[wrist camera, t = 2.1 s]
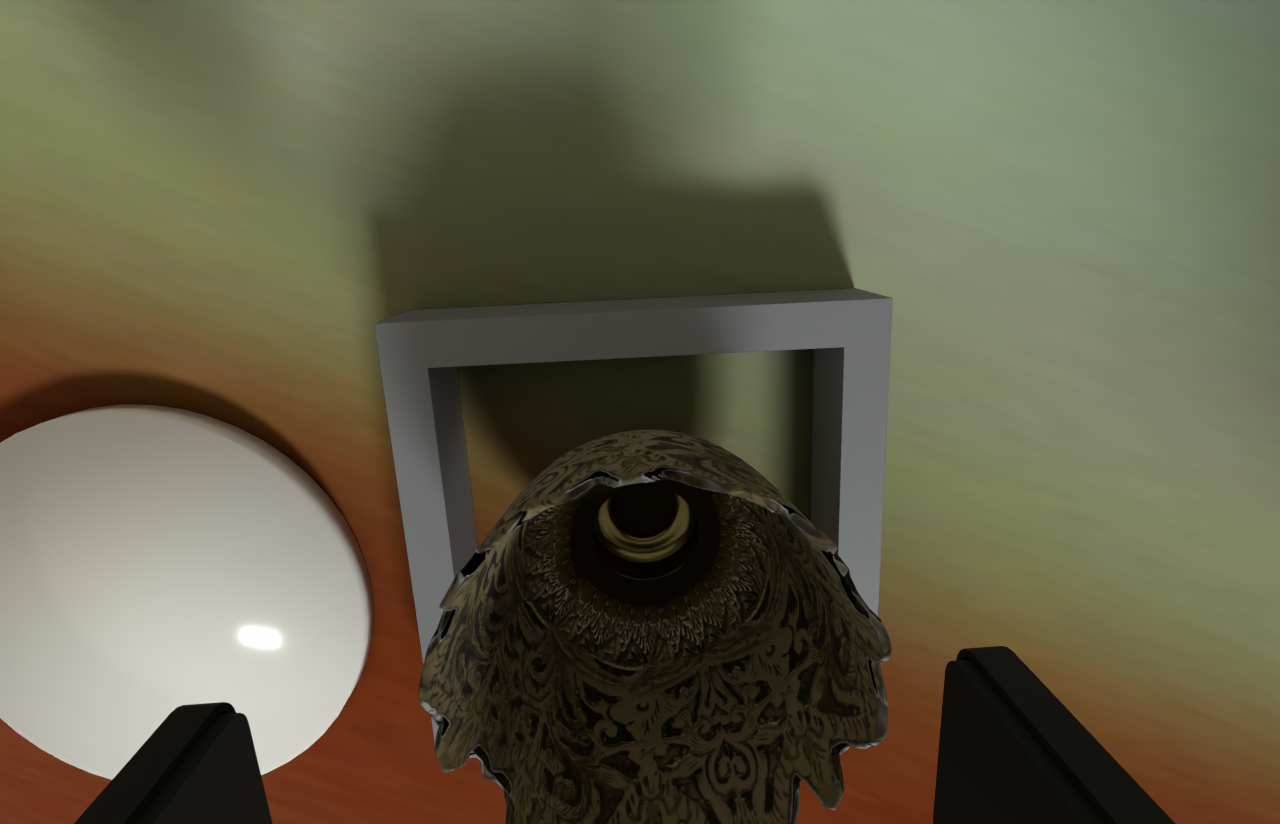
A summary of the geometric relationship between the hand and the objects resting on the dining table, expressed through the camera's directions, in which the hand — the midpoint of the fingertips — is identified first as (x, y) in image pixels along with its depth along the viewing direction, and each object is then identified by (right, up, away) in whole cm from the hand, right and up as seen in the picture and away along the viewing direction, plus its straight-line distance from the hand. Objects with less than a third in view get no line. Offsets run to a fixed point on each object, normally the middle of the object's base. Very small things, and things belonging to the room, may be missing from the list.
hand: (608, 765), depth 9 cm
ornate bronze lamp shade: (0, +2, +10) cm, 10 cm away
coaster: (-12, 0, +10) cm, 16 cm away
